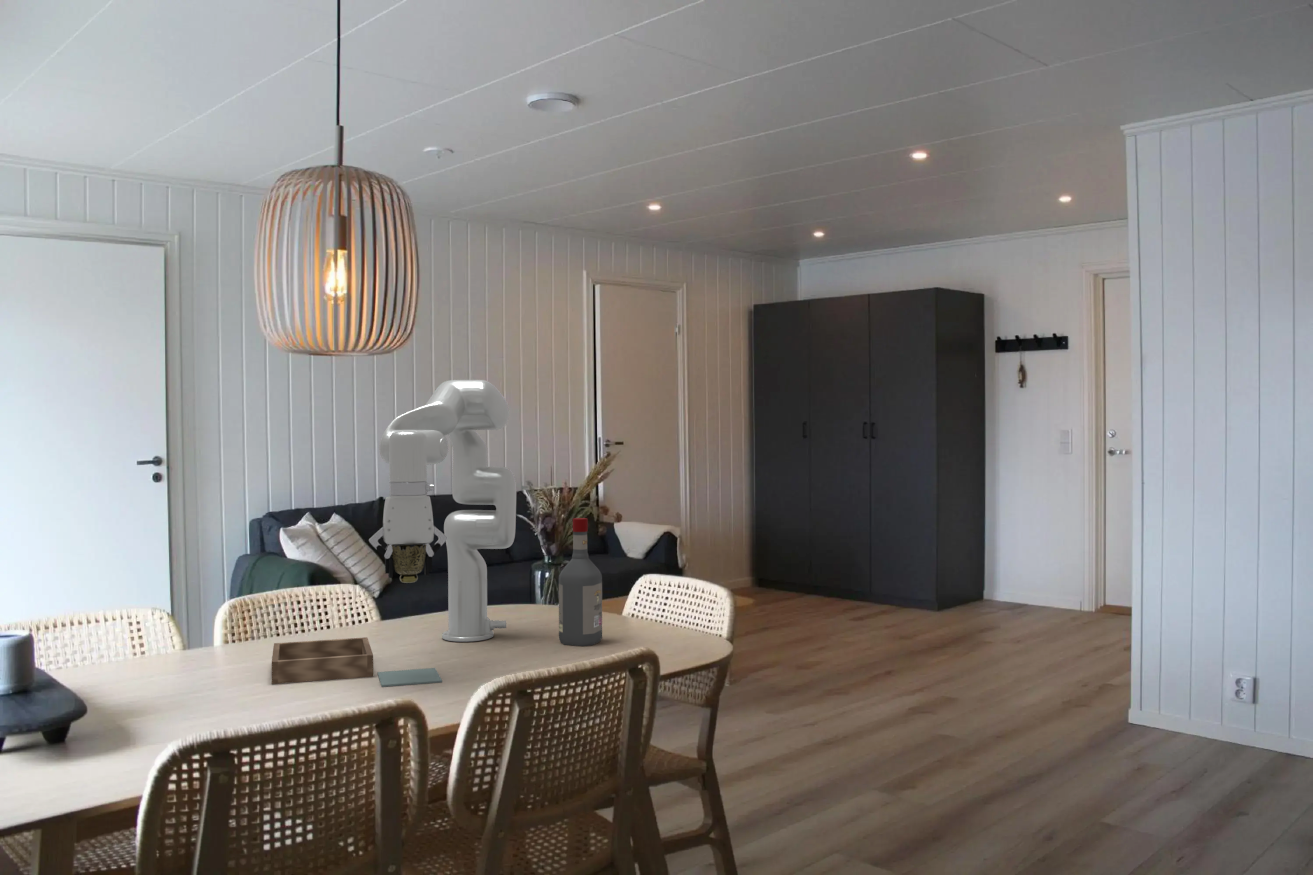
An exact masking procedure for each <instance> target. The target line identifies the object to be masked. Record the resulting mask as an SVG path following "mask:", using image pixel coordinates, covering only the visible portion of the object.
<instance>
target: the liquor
mask: <svg viewBox="0 0 1313 875" xmlns="http://www.w3.org/2000/svg"><path fill="white" fill-rule="evenodd" d="M588 522H589V519H588V518H586V517H585V518H584V517H577V518H576V517H575V518H572V533H573V534H572V536H573V537H572V538H573V540H572V543H573V544H572V547H573V549H572V555H571V559H570V560H569V561H568V562H567V564H566V565H565V566H564V567H563V569H562V570H561V571H560V572H559V576H558V640H559V642H560V643H561V645H562V644H563V645H564V646H576V647H587V646H594V645H596V644H599V643H600V642H601V641H602V639H603V575H602V572H601V570H600V569H599V568H598V567H597V566H596V565H595V563H594V562H593V561H592V560H591V558H589V557H590V556H589V553H588V531H589V530H588V529H589V528H588V527H589V523H588ZM599 641H600V642H599Z"/></svg>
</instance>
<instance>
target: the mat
mask: <svg viewBox="0 0 1313 875" xmlns="http://www.w3.org/2000/svg"><path fill="white" fill-rule="evenodd" d="M377 676H378V680H379V683H380V685H381V688H384V687H385V688H386V687H399V686H411V685H412V686H413V685H422V684H424V685H425V684H435V683H437V684H438V683H443V680H442V679H443V678H441V676H440V674H439V672H438V671H437V669H436V667H430V668H429V667H426V668H416V669H415V668H414V669H401V670H390V671H388V670H387V671H377Z"/></svg>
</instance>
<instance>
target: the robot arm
mask: <svg viewBox="0 0 1313 875" xmlns="http://www.w3.org/2000/svg"><path fill="white" fill-rule="evenodd" d="M509 418H510V408H509V404H508V402H507V400H506V398H505V397H504V395H503V394H502V393H501V391H499V389H498V388H497V387H496V385H494V384H493V383H492V382H490V381H488V380H486V379H450V380H445V381H443V382H441V383H440V384H439V385H438V386H437V388H436V389H435V391H434V392H433V393H432V394H431V396H430V398H429V399H428V400H427V401H426V403H425V405H421V406H419V407H417V408H414V409H412V410H410V411H407V412H406V413H403V414H400V415H399V416H397V417H395V418H394V419H392V421H391V422H390V423H389V424H388V426H387V427H386V429H385V430H384V431H383V433H382V435H381V437H380V441H379V447H378V448H379V454H380V458H381V459H382V460H383V461H384V462H385V463H387V464H388V467H389V473H388V474H389V496H387V497H385V501H384V506H383V517H382V527H381V528H379V530H377V531H376V532H375V533H374V534H373V535H372V536H371V537H370V538H369V539H368V542H369V544H370V545H371V546H372V547H373V548H374V549H375V550H376V551H377V552H378V553H379V554H381V555H382V556H383V557H384V573H385V574H388V578H390V579H392V578H394V567H393V559H392V555H391V554H392V552H393V550H392V545H393V546H395V547H396V546H397V545H410V546H415V545H423V547H424V545H426V557H425V564H424V567H423V569H424V570H423V571H424V572H423V573H424V575H425V576H426V577H430V572H433V556H435V554H436V553H437V552H438V551H439V550H440V549H441V547H442V546H443V545H444V544H445V543H446V544H445V545H446V551H447V572H448V573H447V575H448V576H447V577H448V578H447V580H448V581H447V583H448V584H447V585H448V586H447V589H448V594H447V597H448V598H447V599H448V600H447V601H448V602H447V603H448V604H447V605H448V607H447V608H448V614H447V616H448V617H447V618H448V621H447V622H448V630H446V631H443V632H442V634H441V637H442V639H443V640H444V641H450V642H463V643H465V642H467V643H469V642H479V641H486V640H489V639H491V638H493V637H494V634H495V633H494V629H507V620H499V619H497V620H493V619H490V618H489V617H488V567H487V566H488V565H487V564H486V561H485V559H484V558H483V556H482V555H481V553H480V552H479V551H478V550H481V549H483V550H487V549H488V550H489V549H490V550H494V549H495V550H498V549H499V550H502V549H503V550H504V549H507V548H510V547H511V546H512V545H513V543H514V541H515V537H516V523H517V521H516V520H517V518H516V517H517V481H516V477H515V474H514V472H513V471H512V470H511V469H510V468H508V467H504V466H488V446H487V444H486V441H485V440H484V439H483V437H482V436H481V435H480V433H478V431H494V430H495V431H497V430H501V429H503V428H504V427H506V426H507V424H508V422H509ZM446 436H448V438H449V441H450V443H451V447H452V472H451V473H452V475H451V476H452V477H451V493H452V494H451V495H452V499H453V500H454V501H455V502H456V503H458V504H462V505H470V506H471V505H473V506H474V505H475V506H476V505H479V506H481V505H482V506H484V505H485V506H488V505H490V506H492V505H493V506H495V508H496V509H495V510H492V509H491V510H488V509H485V510H483V509H461V510H455V511H452V512H450V513H449V514H448V515H447V516H446V518H445V520H444V524H443V532H444V533H443V532H442V531H441V530H439V529H438V528H437V527H436V526H435V525H434V516H433V515H434V514H433V506H432V500H431V497H430V496H429V495H428V493H429V492H432V491H434V490H435V488H434V487H435V486H434V483H433V484H431V483H428V481H427V480H428V478H427V465H430V466H432V465H437V464H440V463H441V462H444V460H445V458H446V457H447V455H448V452H449V443H448V440H447V438H446ZM435 536H437V538H438V540H437V541H436V542H435V543H433V545H432V546H431V545H430V544H431V543H432V542H433V541H434V537H435ZM381 538H382V540H383V542H384V543H385V544H386V545H387V546H386V547H385V548H384V546H382V544H380V543H379V540H380V539H381Z"/></svg>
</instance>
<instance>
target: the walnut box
mask: <svg viewBox="0 0 1313 875" xmlns="http://www.w3.org/2000/svg"><path fill="white" fill-rule="evenodd" d="M373 653H374V652H373V650H372V648H371V644H370V641H369V638H368V637H350V638H338V639H337V638H336V639H322V640H320V639H319V640H307V641H305V640H304V641H303V640H302V641H289V642H286V641H285V642H273V648H272V656H271V685H278V684H292V683H303V682H317V681H331V680H344V679H358V678H369V677H370V678H371V677H374V654H373Z"/></svg>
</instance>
